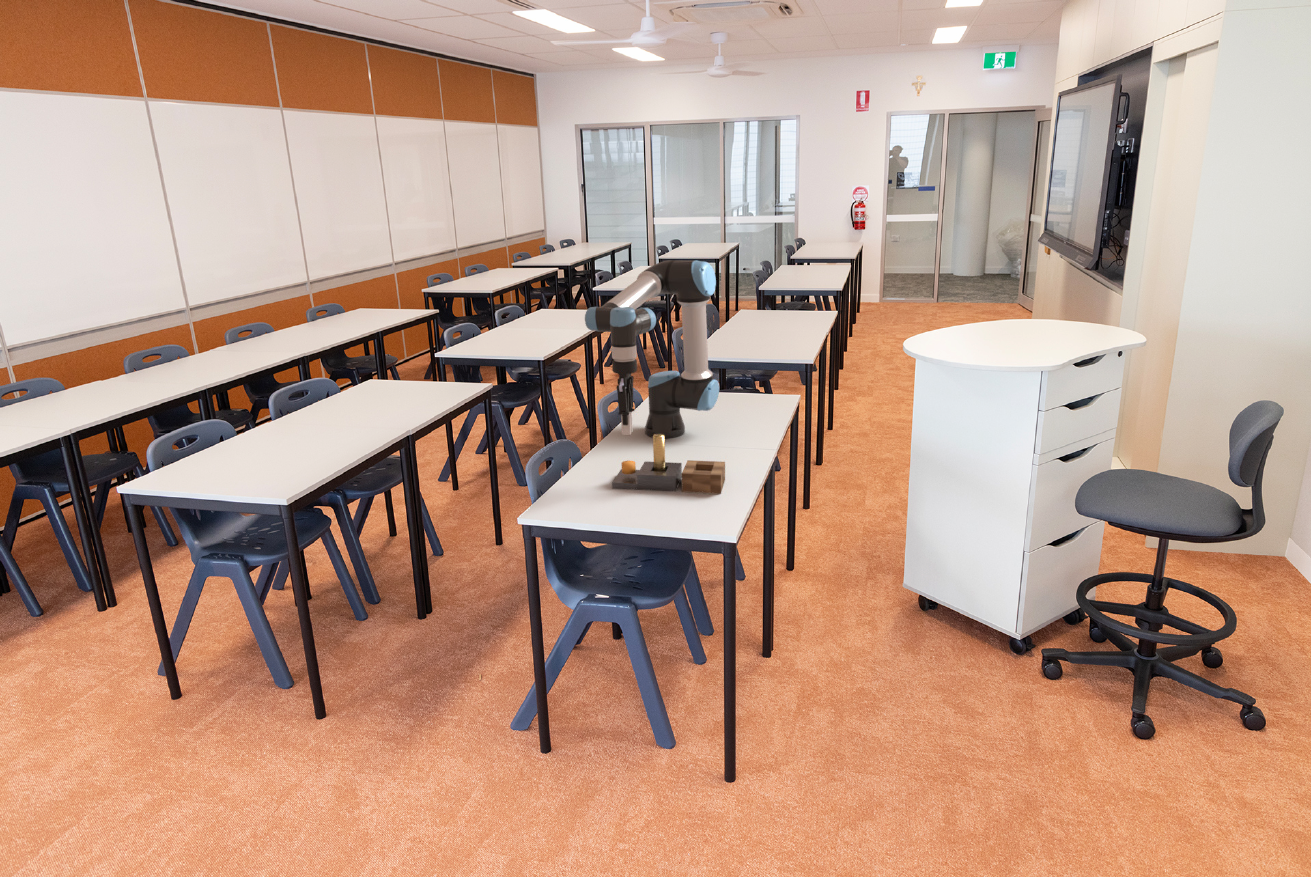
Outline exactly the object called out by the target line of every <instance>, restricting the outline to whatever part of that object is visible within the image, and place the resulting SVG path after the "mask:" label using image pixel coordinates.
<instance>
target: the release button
mask: <svg viewBox="0 0 1311 877" xmlns="http://www.w3.org/2000/svg"><path fill="white" fill-rule="evenodd" d="M636 466H637V465H636V462H635V460H623V461H621V469H622V473H623V474H633V473H635V472H636V470H637V469H636Z"/></svg>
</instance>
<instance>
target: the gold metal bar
mask: <svg viewBox="0 0 1311 877" xmlns="http://www.w3.org/2000/svg"><path fill="white" fill-rule="evenodd" d="M665 441H666V438H665V435H664V434H654V435H653V437H652V443H653V444H652V448H653V449H652V450H653V462H654V471H661V472H665V462H666V446H665V445H666V442H665Z"/></svg>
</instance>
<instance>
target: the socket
mask: <svg viewBox="0 0 1311 877" xmlns="http://www.w3.org/2000/svg"><path fill="white" fill-rule="evenodd" d="M682 465H683V464H682V462H666V461H665V472H661V471H654V461H644V462H643V463H642V465H641V467H640V469H636V472H635V473H633V474H623V473H622V468H621V469H620V470H619V471H618V472H617V475H616V476H615V478H614V480H613V481H612V482H611V483H612V489H614V490H616V489H617V490H633V491H634V490H635V491H636V490H637V491H638V490H639V491H640V490H642V491H655V492H659V491H660V492H676V491H677V489H678V487H679V485H680V482H681V481H682V472H683V469H682V468H683V467H682Z"/></svg>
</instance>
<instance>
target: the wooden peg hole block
mask: <svg viewBox="0 0 1311 877" xmlns="http://www.w3.org/2000/svg"><path fill="white" fill-rule="evenodd" d="M725 481H726V461H715V460H714V461H713V460H691V459H690V460H687V461H686V463H685V465H684V468H683V469H682V478H681V492H682V493H697V494H698V493H699V494H700V493H703V494H717V495H718V494H722V492H723V487H724V484H725Z"/></svg>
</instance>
